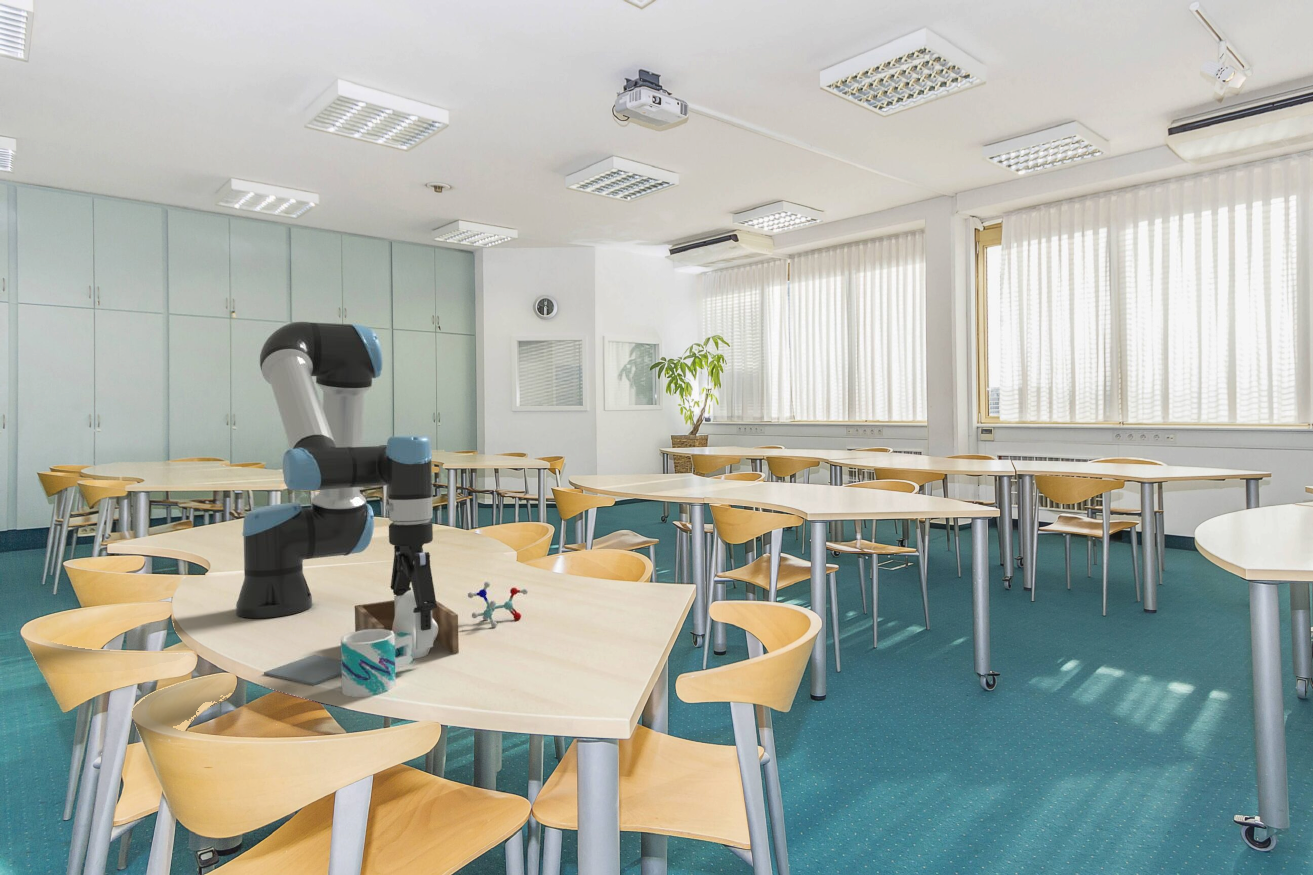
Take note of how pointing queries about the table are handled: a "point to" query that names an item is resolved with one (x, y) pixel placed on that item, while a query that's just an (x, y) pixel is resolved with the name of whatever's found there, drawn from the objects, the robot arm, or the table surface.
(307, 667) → the felt mat
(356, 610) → the walnut box
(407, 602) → the figurine
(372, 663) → the mug
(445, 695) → the table surface
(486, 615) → the molecular model
